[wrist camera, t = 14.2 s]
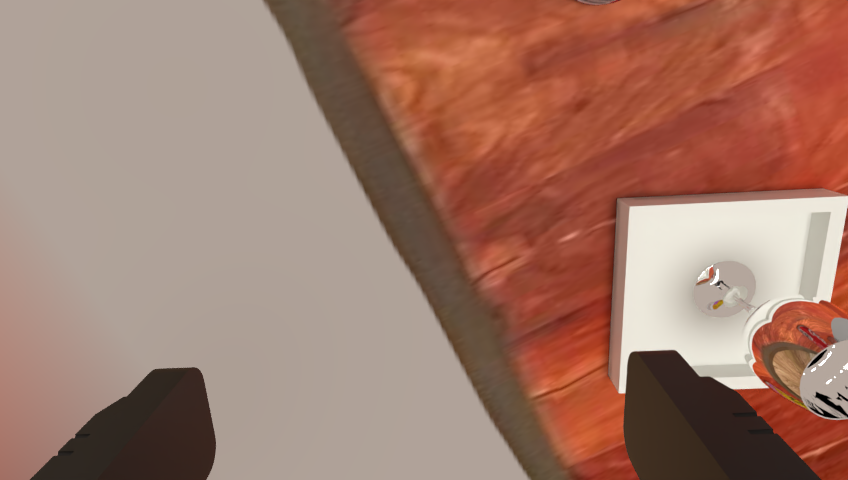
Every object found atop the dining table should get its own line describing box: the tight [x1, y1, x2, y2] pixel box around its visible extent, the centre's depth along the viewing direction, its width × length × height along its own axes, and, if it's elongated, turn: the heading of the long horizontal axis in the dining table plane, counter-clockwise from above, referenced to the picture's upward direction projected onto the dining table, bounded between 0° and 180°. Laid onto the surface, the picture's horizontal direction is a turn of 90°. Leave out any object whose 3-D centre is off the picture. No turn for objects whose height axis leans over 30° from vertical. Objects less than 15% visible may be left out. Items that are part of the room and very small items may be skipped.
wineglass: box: [692, 260, 848, 420], centre depth 33 cm, size 6×6×12 cm
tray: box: [608, 188, 848, 393], centre depth 38 cm, size 14×14×2 cm
